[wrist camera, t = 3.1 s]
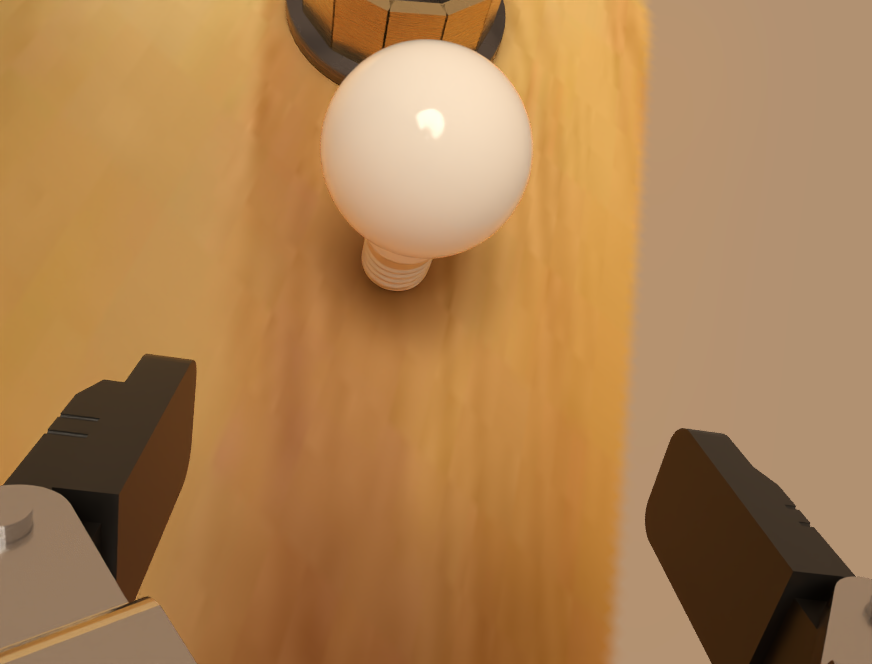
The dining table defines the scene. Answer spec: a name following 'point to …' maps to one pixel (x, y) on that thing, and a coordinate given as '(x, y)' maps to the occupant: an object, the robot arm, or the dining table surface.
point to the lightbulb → (424, 155)
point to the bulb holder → (388, 28)
